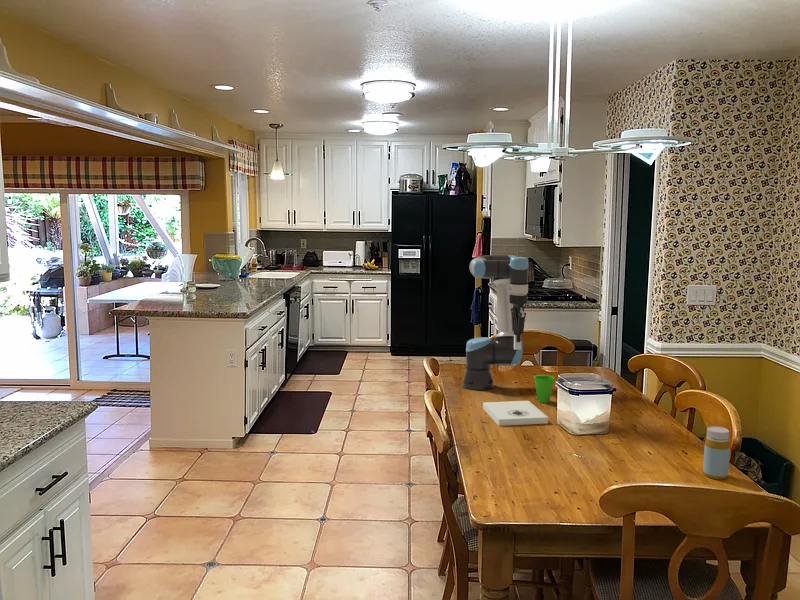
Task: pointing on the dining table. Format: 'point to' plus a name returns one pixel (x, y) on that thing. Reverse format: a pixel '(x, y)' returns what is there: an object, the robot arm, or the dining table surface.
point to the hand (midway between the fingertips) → (517, 349)
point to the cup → (543, 387)
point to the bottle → (716, 453)
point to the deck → (506, 416)
